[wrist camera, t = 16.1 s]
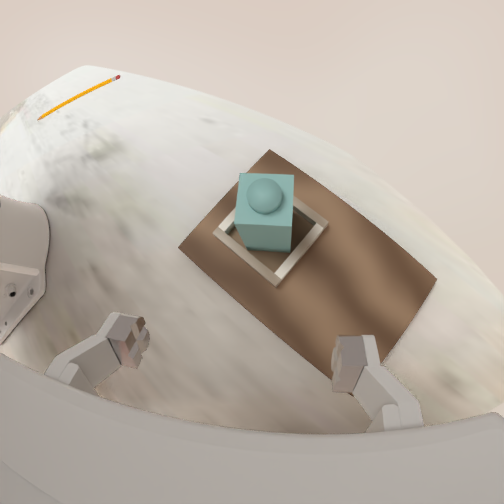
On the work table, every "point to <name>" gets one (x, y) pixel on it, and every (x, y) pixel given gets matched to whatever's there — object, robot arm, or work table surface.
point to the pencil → (80, 95)
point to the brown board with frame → (314, 271)
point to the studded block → (265, 211)
